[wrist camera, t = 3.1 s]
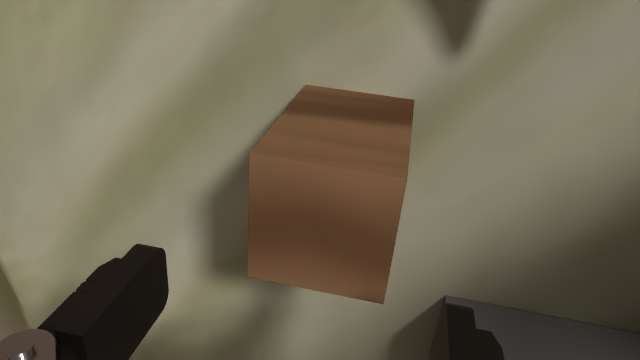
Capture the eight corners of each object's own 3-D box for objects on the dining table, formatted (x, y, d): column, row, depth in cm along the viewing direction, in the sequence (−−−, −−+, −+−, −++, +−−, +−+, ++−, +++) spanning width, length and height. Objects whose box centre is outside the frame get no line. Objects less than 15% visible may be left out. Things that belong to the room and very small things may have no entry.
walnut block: (305, 84, 22) (249, 152, 15) (414, 99, 21) (407, 179, 14) (299, 179, 24) (247, 276, 18) (396, 196, 24) (383, 304, 17)
